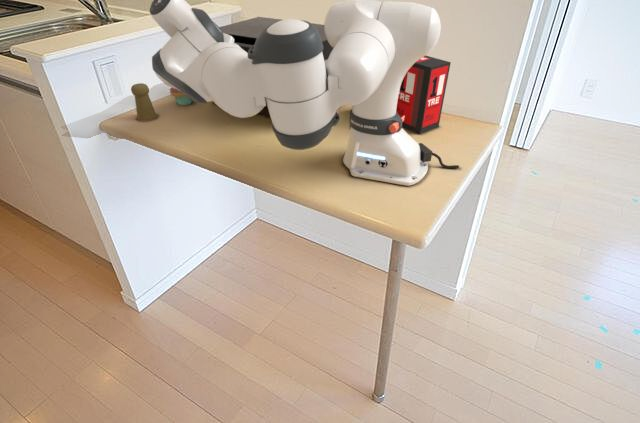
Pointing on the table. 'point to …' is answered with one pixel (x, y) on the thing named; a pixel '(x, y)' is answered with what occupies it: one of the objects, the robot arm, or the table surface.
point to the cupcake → (180, 97)
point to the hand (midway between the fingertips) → (231, 71)
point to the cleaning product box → (423, 94)
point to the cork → (143, 102)
